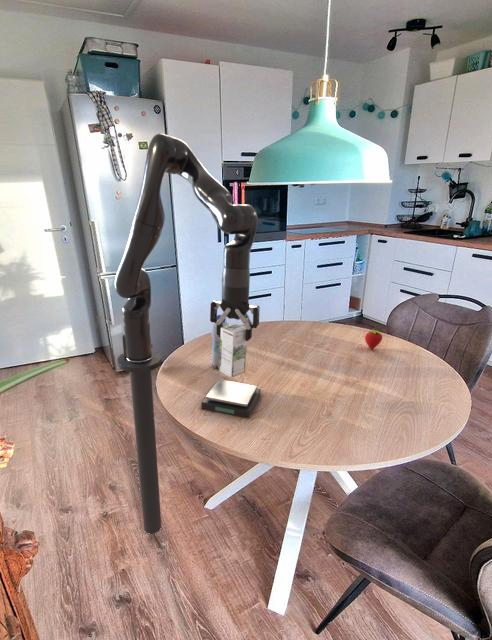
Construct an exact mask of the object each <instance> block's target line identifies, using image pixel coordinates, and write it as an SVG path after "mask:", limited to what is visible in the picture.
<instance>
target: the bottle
mask: <svg viewBox="0 0 492 640" xmlns="http://www.w3.org/2000/svg"><path fill="white" fill-rule="evenodd" d="M221 315H222V314H217V318H220V316H221ZM222 323H223V327H225V326H228V325H230V323H228V321H226V318H225V319H224V320H223V322H222ZM210 333H211V335H210V336H211V338H212V340H211V343H212V344H211V365H212V366H213V368H215V369H216V368H217V369H219V359H220V337H218V335H217V325H216V323H214V322H212V325H211V331H210Z"/></svg>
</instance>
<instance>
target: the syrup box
mask: <svg viewBox="0 0 492 640" xmlns="http://www.w3.org/2000/svg"><path fill="white" fill-rule="evenodd" d="M246 329H247V328H246V326H245V327H244V326H243V325H241V324H238V323H232V324H229V325H228V326H225V327H221V332H220V359H219V368H218V371H219V372H220V373H222V374H224V375H226V376H227V377H229V378H234V377H237V376H239V375H241V374H243V373H245V372H246V361H247V348H248V347H247V346H248V341H245V338H246Z"/></svg>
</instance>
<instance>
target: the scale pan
mask: <svg viewBox="0 0 492 640" xmlns="http://www.w3.org/2000/svg"><path fill="white" fill-rule="evenodd" d="M216 382H217V383H216ZM216 382H215V384H213V386H214V387H213V386H212V387H213V388H212V387H211V389H210V390H209V391H210V392H209V391H208V393H207V394H206V395H207V396H206V395H205V397H206V399H208V400H214V401H219V402H224V403H229V404H235V405H240V406H245V407H247V406H248V404H249V402H250V400H251V398H252V397H253V395H254V393H255V391H256V389H258V386H257V385H253V384H248V383H242V382H238V381H237V382H236V381H231V380H225V379H218V380H217V381H216Z"/></svg>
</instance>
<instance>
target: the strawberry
mask: <svg viewBox="0 0 492 640" xmlns="http://www.w3.org/2000/svg"><path fill="white" fill-rule="evenodd" d="M374 327H375V329H376V330H375V329H372V330H368V332H366V333H365V336H364V340H365V343H366V345H367V346H368V347H369V349H370V350H375V348H376V347H378V345H379V344H381V342H382V340H383V335H382V333H381V331H379V330H377V327H376V326H374Z"/></svg>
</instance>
